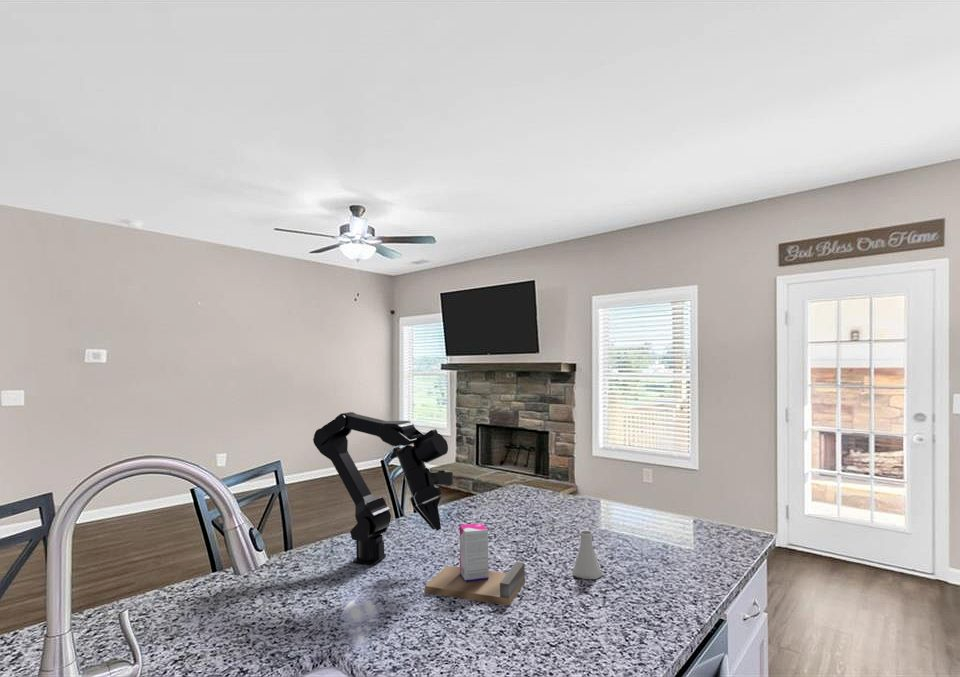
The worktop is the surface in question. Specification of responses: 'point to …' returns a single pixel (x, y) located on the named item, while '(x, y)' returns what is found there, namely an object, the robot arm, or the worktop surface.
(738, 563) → the worktop surface
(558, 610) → the worktop surface
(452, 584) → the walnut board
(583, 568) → the flask
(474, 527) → the supplement box
